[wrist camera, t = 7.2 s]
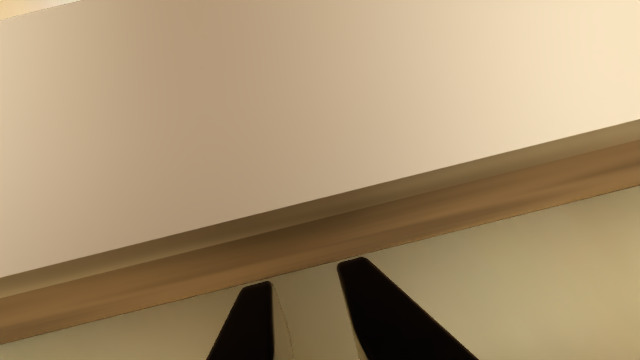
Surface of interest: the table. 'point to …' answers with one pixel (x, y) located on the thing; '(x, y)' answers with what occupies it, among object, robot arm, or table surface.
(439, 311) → the table surface
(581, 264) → the table surface
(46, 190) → the gate leaf
